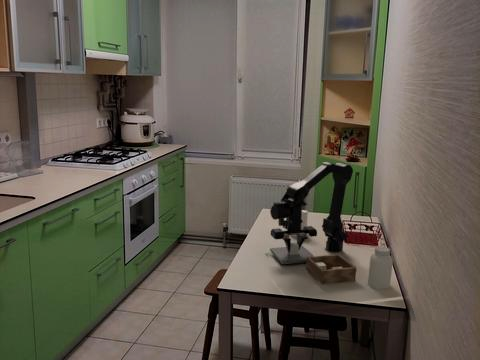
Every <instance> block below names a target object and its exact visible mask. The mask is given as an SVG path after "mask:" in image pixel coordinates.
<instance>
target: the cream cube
mask: <svg viewBox="0 0 480 360" xmlns="http://www.w3.org/2000/svg"><path fill="white" fill-rule="evenodd" d="M316 264H317V265H318V266H319V267H320V268H321V269H323V270H326V265H325V264H324V263H323V262H317V263H316Z"/></svg>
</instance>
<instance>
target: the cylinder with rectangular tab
mask: <svg viewBox="0 0 480 360" xmlns="http://www.w3.org/2000/svg"><path fill="white" fill-rule="evenodd" d="M308 215H309V211H308V210H304V209H302V219H301V220H303V223H301V229H303V228H304V227H306V226H308ZM290 236H292V237H295V238H297V235H290Z"/></svg>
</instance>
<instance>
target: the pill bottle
mask: <svg viewBox="0 0 480 360" xmlns="http://www.w3.org/2000/svg"><path fill="white" fill-rule="evenodd" d="M390 254H391V249H390V248H389V247H386V246H382V245H380V246H375V248H374V253H373V254H371V256H370V259H369V266H368V268H369V269H368V277H367V285H368V286H369V287H371V288H373V289H376V290H388V289H390V287H391V279H392V271H393V262H394V261H393V260H394V259H393V257H392V256H391V255H390Z"/></svg>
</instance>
